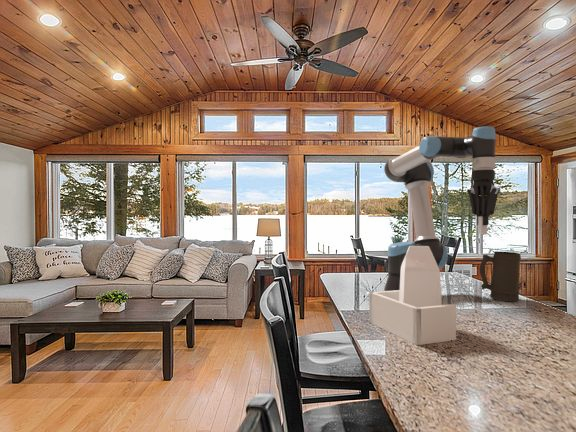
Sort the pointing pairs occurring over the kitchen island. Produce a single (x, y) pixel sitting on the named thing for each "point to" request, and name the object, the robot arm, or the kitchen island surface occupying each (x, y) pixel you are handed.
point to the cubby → (412, 319)
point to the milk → (420, 278)
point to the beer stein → (502, 275)
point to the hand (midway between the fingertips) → (482, 234)
